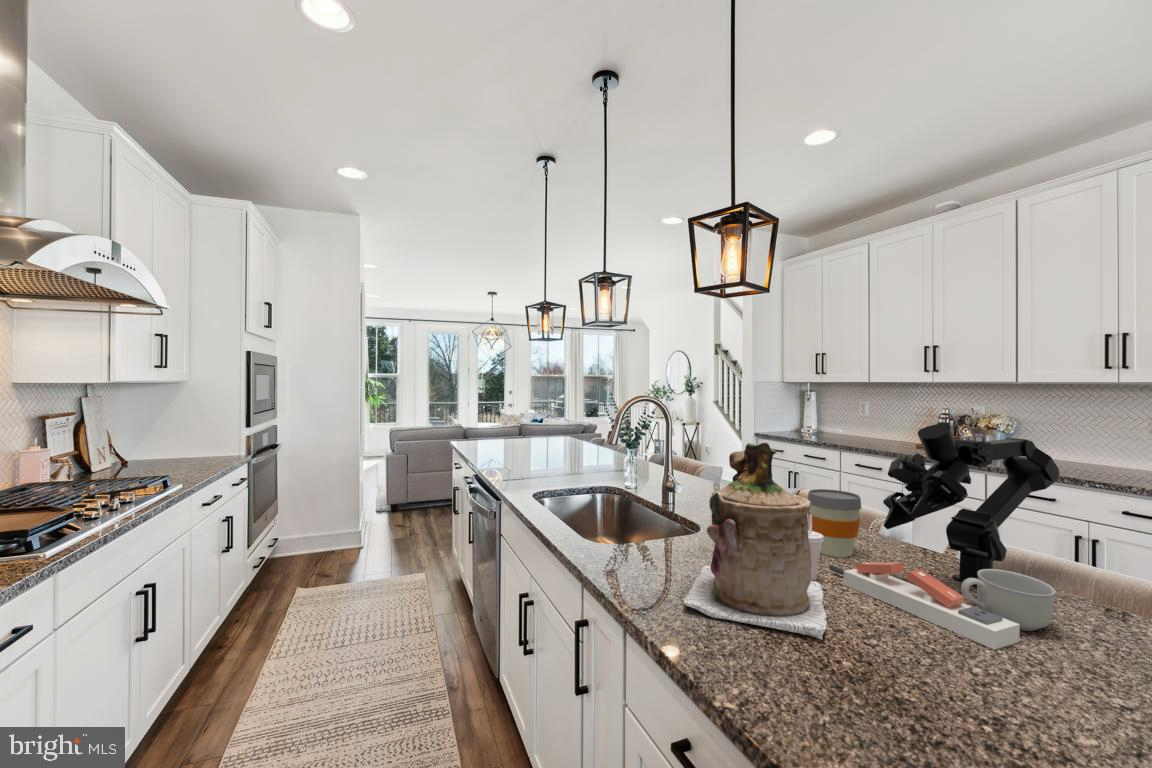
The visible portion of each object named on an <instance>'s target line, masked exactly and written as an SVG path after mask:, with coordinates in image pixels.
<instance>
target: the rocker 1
mask: <svg viewBox="0 0 1152 768" xmlns="http://www.w3.org/2000/svg"><path fill="white" fill-rule="evenodd" d="M855 569H857V572H868V573H888V574H895V573H902V572H905V569H904V565H903V563H902V562H886V561H885V562H883V561H882V562H881V561H880V562H877V561H873V562H872V561H869V562H867V561H866V562H860V563H856V564H855Z"/></svg>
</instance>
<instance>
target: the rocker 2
mask: <svg viewBox="0 0 1152 768" xmlns="http://www.w3.org/2000/svg"><path fill="white" fill-rule="evenodd" d="M906 579H907V580H908V581H910V582H911V584H913V585H916V586H918V587H919V588H921V589H922V590H924V591H925V592H927V593H928V594H930V595H931V596H932V597H934V598H935V599H937V600H938V601H940V602H941V603H942V604H944V605H945V606H947V607H948V608H951V607H955V606H959V605H962V603H963V602H964V601H965V596H964V595H961V594H959V593H958V592H957V591H956V590H953V589H952V588H950V587H949V586H947V585H946V584H944V583H943V582H942V581H940V580H938V579H937V578H935V577H934V576H933V575H931V574H929V573H928V572H926V571H925V570H924V569H916V570H910V571H909V572H908V575H907V578H906Z"/></svg>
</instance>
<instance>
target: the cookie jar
mask: <svg viewBox="0 0 1152 768" xmlns="http://www.w3.org/2000/svg"><path fill="white" fill-rule="evenodd" d="M744 448H745V449H744V450H741V451H740V450H739V451H734V452H733V451H732V452H731V453H730V454H729V456H728V458H729V459H728V461H729V467H730V468H731V469H732V470H735V472H736V474H734V475H733V476H732V481H731V483H728V484H727V485H725V486H724V487H722V488H720V489H719V490H717V491H713V492H711V496H710V498H709V501H708V502H709V509H710V511H711V524H710V525H708V526H707V528H706V533H707V535H708V537H709V538H710V539H711V540H712V541H713V543H714V548H713V552H712V559H711V564H710V565H703V566H702V567H701V569H700V573H699V575H698V576H697V577H695V579H694V582H693V584H692V586H691V589H689V591H688V595H687V596H686V597H684V599H683V606H684V607H686V606H687V607H690V608H691V609H692V608H693V609H695V610H697V611H699V612H701V613H702V614H704V615H705V616H709V617H711V618H713V619H721V620H729V621H733V622H738V623H742V624H743V623H744V624H748V625H749V624H750V625H755V626H760V627H766V628H770V629H774V630H775V629H776V630H780V631H786V632H790V633H796V634H800V635H804V636H810V637H813V638H816V639H819V640H820V641H823V639H824V638H823V635H824V633H825V632H826V630H827V625H828V622H827V617H828V616H827V612H826V610H825V606H824V604H823V603H824V602H823V601H824V590H823V586H822V584H821V583H820V582H818V581H815V580H811V548H810V544H809V540H808V539H809V538H808V531H809V520H808V512H809V511H810V508H811V502H810V501H809V500H808V498H806V497H804V496H799V495H798V494H794V493H790V492H788V491H786V490H785V489H784V488H782V487H781V486H780V485H779V484H777V483H776V482H775V481H774V480H773V471H772V468H773V467H772V466H773V465H772V463H773V457H774V455H776V454H777V450H776V449H773V448H771V447H770V444H769V443H768V442H766V441H763V442H760V443H759V444H756V443H750V442H748V443H747V444H746V445H745V447H744Z"/></svg>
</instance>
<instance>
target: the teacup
mask: <svg viewBox="0 0 1152 768" xmlns="http://www.w3.org/2000/svg"><path fill="white" fill-rule="evenodd" d="M977 575H978V579H976V578H967V579H965V580H964V581H961V585H960V589H961V592H962V594H963V597H964V598H966V599H967V600H969V601H970V602H971V603H972V604H975V605H976V607H977V608H979V609H982V610H984V611H987V612H990V613H992V614H995V615H998V616H1000V617H1003V618H1004V619H1007V620H1009V621H1012V622H1015V623H1018V624H1020V631H1027V632H1033V631H1038V630H1040V629H1042V628H1045V627H1047V626H1049V625H1050V623H1051V622H1052V619H1053V616H1054V608H1055V607H1054V605H1055V596H1056V594H1057V591H1056V589H1055V588H1054V587H1052V586H1051V585H1050V584H1049V583H1046V582H1044V581H1042V580H1041V579H1038V578H1035V577H1032V576H1029V575H1025V574H1023V573H1018V572H1015V571H1010V570H1003V569H997V568H993V569H982V570H979V571H978V572H977ZM973 584H976V585H977V586H976V588H977V589H976V598H975V597H974V596H973V595H972V594H971V593H970V588H971V587H972V586H974V585H973Z"/></svg>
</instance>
